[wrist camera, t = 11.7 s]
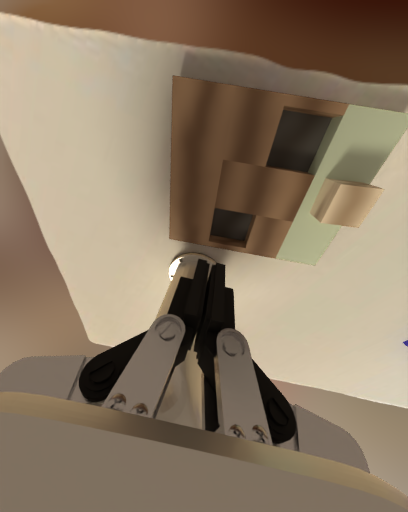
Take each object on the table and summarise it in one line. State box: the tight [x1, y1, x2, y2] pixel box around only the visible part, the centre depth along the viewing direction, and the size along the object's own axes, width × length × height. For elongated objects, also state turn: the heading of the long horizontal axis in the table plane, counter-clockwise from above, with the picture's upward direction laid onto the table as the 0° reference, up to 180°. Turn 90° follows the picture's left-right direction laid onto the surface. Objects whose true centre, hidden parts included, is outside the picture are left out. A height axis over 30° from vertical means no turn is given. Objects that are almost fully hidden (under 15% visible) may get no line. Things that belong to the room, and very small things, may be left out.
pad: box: [276, 104, 408, 266], centre depth 27 cm, size 8×22×3 cm, turn 172°
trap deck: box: [169, 76, 349, 258], centre depth 27 cm, size 20×22×3 cm
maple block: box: [309, 178, 384, 228], centre depth 23 cm, size 5×5×4 cm
